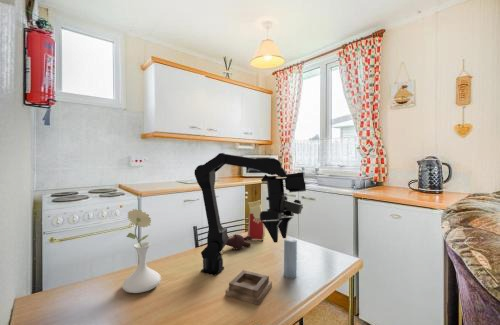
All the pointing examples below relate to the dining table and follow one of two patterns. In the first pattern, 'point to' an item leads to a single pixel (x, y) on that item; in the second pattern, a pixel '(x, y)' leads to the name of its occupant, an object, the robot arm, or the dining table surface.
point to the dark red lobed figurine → (238, 241)
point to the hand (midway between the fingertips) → (280, 240)
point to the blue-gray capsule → (290, 258)
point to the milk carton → (256, 221)
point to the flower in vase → (140, 259)
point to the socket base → (249, 287)
